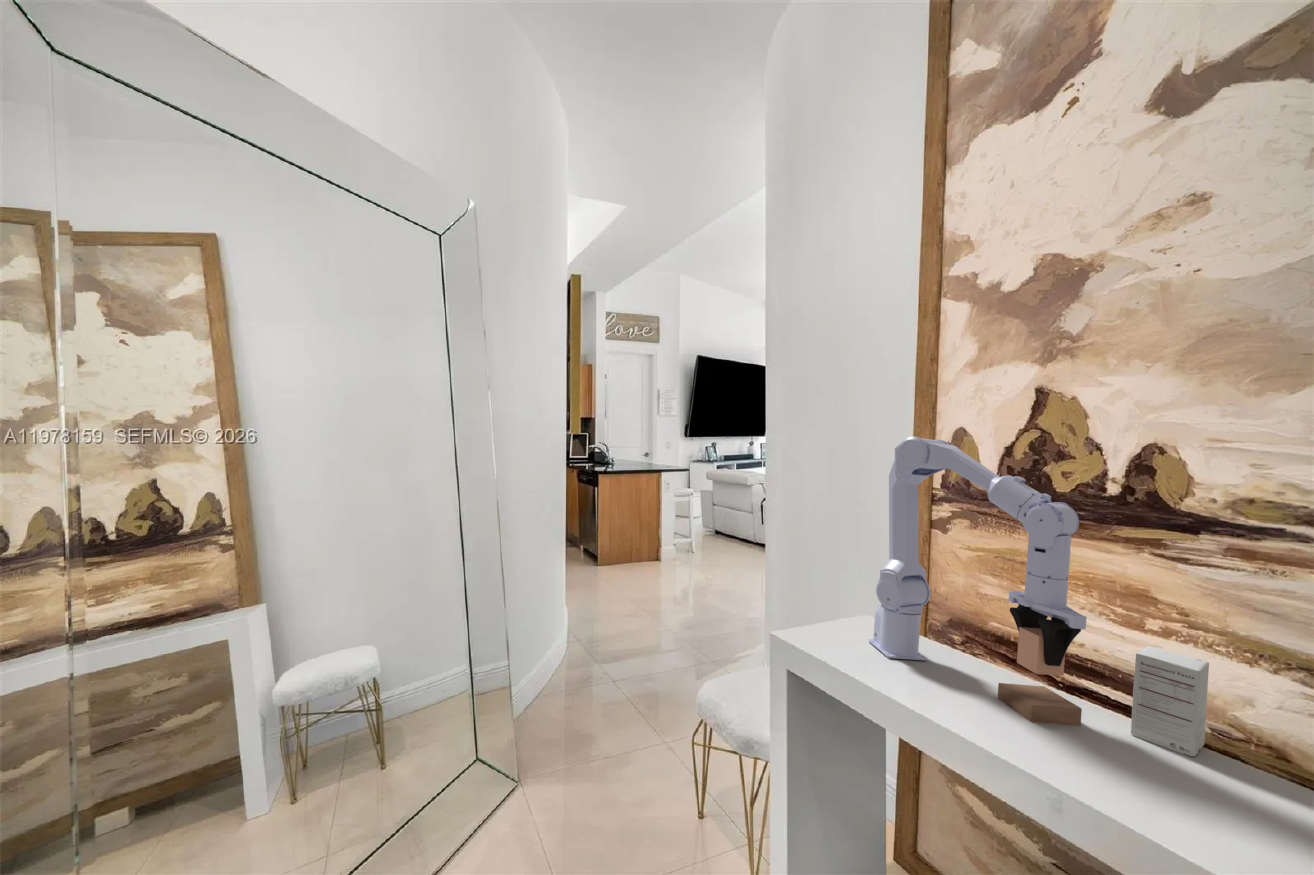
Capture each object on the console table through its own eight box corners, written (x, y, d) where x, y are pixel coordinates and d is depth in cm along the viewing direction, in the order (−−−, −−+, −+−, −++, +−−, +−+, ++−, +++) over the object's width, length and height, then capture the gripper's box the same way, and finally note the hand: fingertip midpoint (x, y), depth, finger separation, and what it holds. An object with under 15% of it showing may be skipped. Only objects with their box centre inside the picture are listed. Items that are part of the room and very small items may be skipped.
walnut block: (997, 700, 94) (998, 682, 94) (1043, 704, 94) (1044, 686, 94) (1030, 724, 86) (1031, 704, 86) (1080, 727, 86) (1081, 708, 86)
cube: (1042, 664, 93) (1045, 628, 93) (1063, 675, 88) (1066, 638, 88) (1016, 662, 93) (1019, 627, 93) (1036, 674, 88) (1038, 636, 88)
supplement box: (1141, 723, 89) (1147, 644, 89) (1205, 746, 83) (1211, 661, 83) (1128, 734, 85) (1134, 652, 85) (1194, 759, 79) (1200, 670, 79)
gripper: (994, 564, 98) (988, 641, 98) (1057, 585, 83) (1050, 675, 83) (1032, 567, 98) (1027, 644, 98) (1102, 588, 84) (1095, 678, 83)
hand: (1040, 658), depth 90 cm, fingers closed on cube, 4 cm apart
